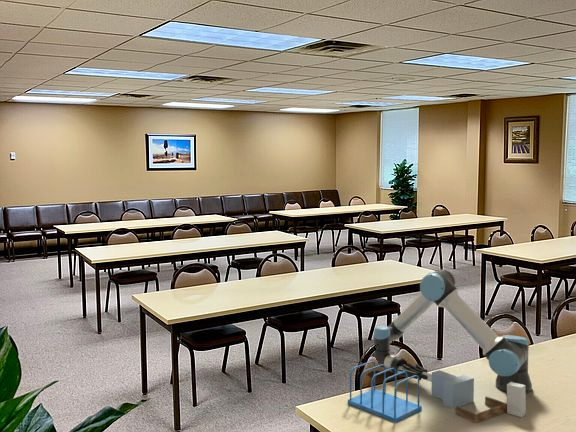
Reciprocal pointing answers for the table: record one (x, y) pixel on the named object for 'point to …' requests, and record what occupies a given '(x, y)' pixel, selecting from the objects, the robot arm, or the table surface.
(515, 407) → the skincare box
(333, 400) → the table surface
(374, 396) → the file sorter
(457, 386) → the grey l-shaped block
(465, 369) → the table surface
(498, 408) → the brown wooden tray
